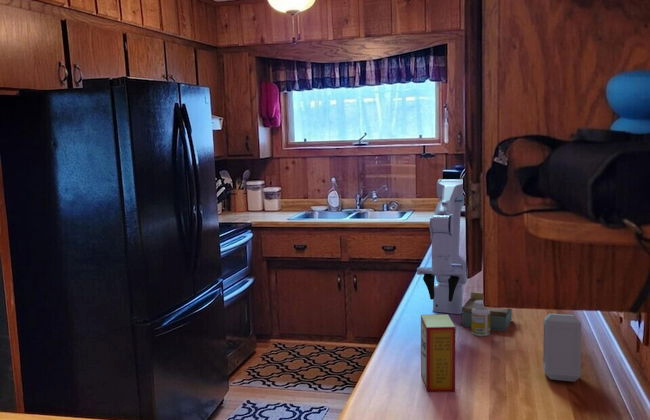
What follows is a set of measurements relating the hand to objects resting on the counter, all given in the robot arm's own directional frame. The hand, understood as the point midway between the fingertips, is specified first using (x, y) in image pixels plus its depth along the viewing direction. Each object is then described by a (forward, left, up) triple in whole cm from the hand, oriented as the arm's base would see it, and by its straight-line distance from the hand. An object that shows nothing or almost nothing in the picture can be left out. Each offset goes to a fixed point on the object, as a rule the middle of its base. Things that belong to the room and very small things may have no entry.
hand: (441, 299), depth 176 cm
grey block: (+34, -11, -10) cm, 37 cm away
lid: (+11, +13, -5) cm, 18 cm away
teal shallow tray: (+11, +13, -10) cm, 20 cm away
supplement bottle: (+11, +3, -10) cm, 15 cm away
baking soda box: (+9, -36, -10) cm, 38 cm away
